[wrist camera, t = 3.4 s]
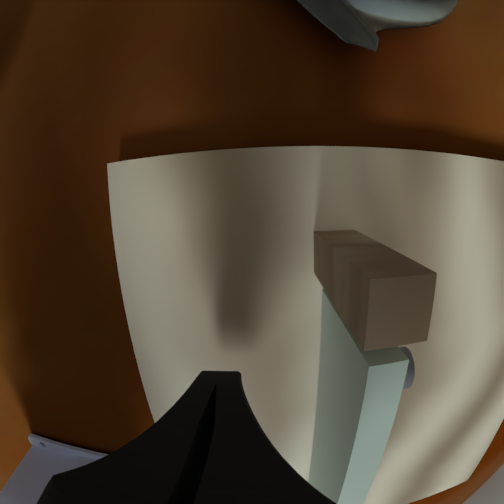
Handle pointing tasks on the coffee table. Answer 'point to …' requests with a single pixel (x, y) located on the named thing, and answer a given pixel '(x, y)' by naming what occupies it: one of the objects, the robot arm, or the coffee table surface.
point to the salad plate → (375, 16)
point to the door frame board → (322, 278)
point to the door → (353, 408)
